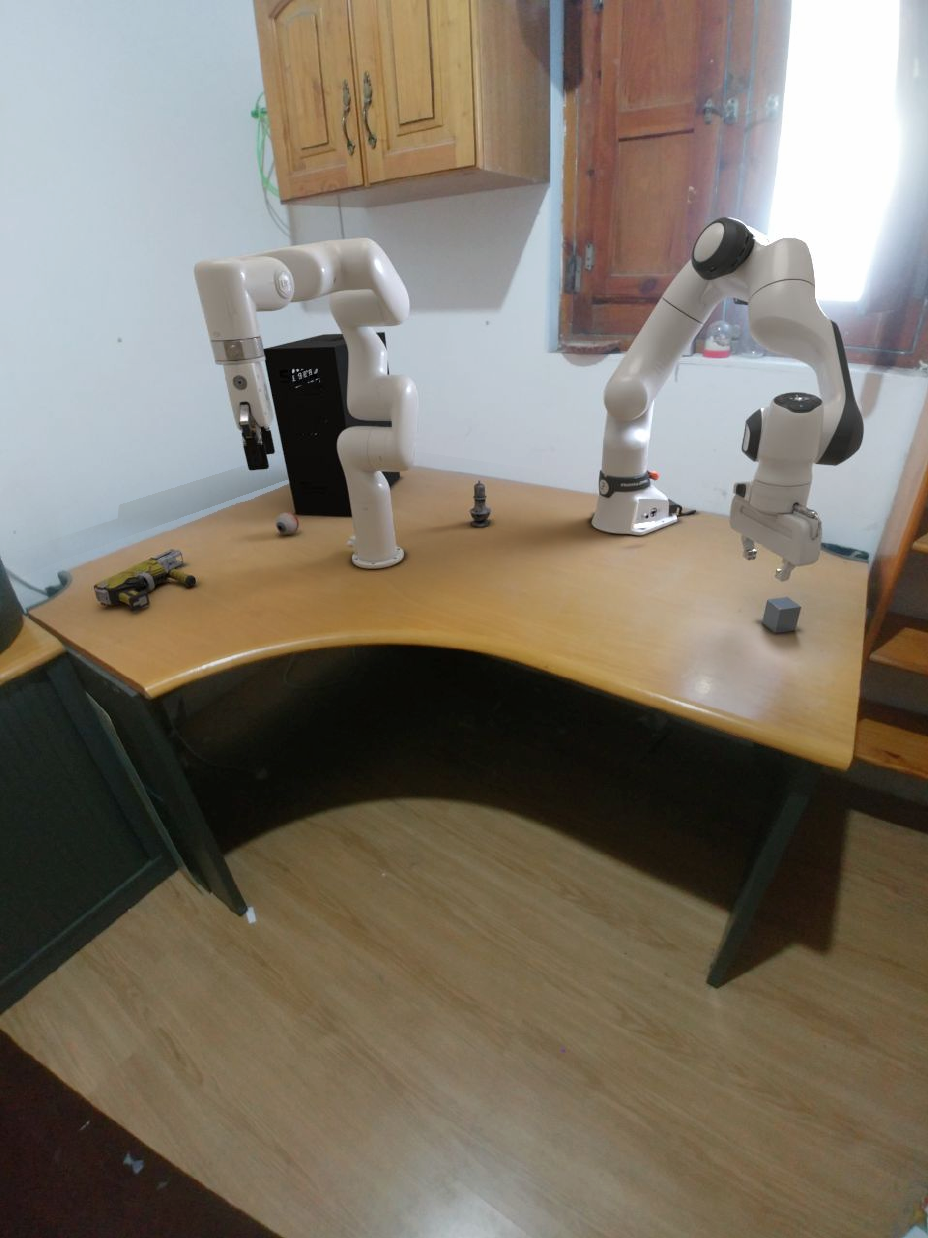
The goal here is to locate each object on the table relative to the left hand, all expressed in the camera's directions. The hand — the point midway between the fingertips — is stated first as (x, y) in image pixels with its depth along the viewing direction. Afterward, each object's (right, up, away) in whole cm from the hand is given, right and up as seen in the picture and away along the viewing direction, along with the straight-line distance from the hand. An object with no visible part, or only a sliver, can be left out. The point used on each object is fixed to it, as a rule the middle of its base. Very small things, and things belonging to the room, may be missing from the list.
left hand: (262, 461), depth 102 cm
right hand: (+89, -17, +8) cm, 91 cm away
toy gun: (-36, -20, +38) cm, 56 cm away
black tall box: (-2, +13, +91) cm, 92 cm away
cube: (+93, -28, +10) cm, 97 cm away
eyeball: (-14, -4, +63) cm, 65 cm away
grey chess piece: (+39, -1, +63) cm, 74 cm away
